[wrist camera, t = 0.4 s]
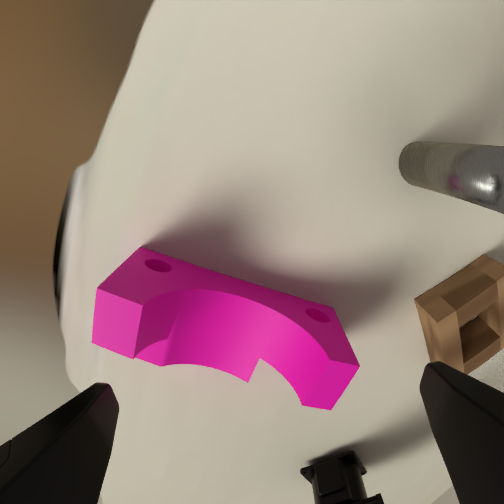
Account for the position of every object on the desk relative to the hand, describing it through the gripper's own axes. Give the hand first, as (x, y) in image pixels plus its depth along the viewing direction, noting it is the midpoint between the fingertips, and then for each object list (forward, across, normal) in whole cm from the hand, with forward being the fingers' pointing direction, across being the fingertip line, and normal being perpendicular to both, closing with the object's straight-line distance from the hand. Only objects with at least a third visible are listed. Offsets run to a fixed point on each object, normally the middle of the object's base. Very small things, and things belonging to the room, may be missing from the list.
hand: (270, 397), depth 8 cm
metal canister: (+15, -12, -5) cm, 20 cm away
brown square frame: (+15, -18, +8) cm, 24 cm away
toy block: (+15, +3, +6) cm, 16 cm away
